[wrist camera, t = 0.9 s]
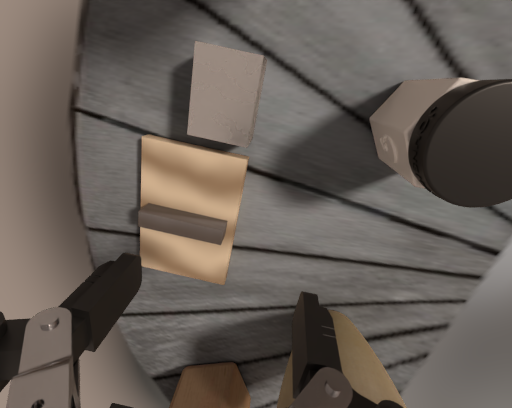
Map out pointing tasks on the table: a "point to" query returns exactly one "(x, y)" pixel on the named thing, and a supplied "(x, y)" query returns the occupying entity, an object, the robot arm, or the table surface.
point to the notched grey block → (225, 94)
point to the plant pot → (351, 366)
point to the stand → (189, 207)
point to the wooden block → (211, 387)
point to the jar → (450, 138)
